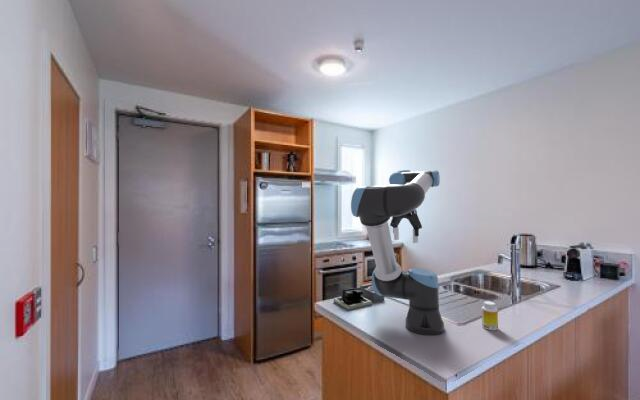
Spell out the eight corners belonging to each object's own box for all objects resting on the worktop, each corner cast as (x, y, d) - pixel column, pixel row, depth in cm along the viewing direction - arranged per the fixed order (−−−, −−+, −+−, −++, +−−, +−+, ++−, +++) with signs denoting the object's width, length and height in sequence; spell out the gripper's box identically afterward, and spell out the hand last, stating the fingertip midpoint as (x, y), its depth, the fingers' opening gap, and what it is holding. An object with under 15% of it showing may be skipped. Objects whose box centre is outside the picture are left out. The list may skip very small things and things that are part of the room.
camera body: (384, 300, 153) (384, 288, 153) (373, 302, 150) (373, 290, 150) (370, 294, 163) (370, 283, 163) (360, 296, 160) (360, 284, 160)
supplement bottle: (500, 331, 114) (500, 305, 114) (486, 330, 115) (485, 305, 115) (493, 325, 120) (493, 300, 120) (479, 324, 120) (479, 300, 120)
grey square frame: (371, 305, 146) (371, 301, 146) (348, 310, 139) (347, 306, 139) (356, 297, 158) (356, 293, 158) (333, 302, 151) (333, 298, 151)
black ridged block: (358, 298, 153) (358, 286, 153) (364, 303, 146) (364, 289, 147) (341, 301, 150) (340, 288, 150) (346, 305, 143) (346, 292, 143)
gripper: (428, 199, 140) (430, 243, 139) (393, 200, 162) (394, 238, 161) (417, 199, 136) (418, 244, 136) (383, 200, 158) (384, 239, 158)
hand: (405, 241), depth 149 cm, fingers open, 13 cm apart
